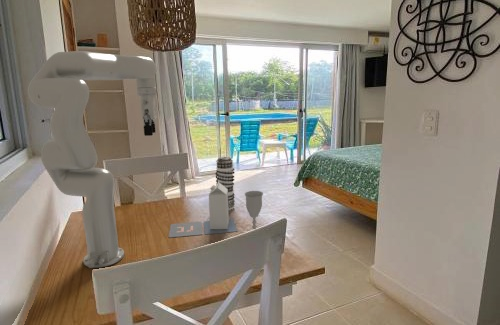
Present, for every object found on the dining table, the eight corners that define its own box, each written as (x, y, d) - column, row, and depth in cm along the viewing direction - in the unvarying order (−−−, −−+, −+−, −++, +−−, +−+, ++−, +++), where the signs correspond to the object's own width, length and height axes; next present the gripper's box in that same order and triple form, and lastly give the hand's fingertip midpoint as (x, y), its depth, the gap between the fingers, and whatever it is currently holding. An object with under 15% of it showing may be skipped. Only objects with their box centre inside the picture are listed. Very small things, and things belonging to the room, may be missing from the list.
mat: (237, 231, 125) (237, 231, 125) (205, 234, 123) (204, 234, 123) (233, 219, 138) (233, 218, 138) (203, 221, 135) (203, 221, 135)
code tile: (202, 234, 123) (202, 234, 123) (168, 237, 121) (168, 237, 120) (201, 222, 135) (201, 221, 135) (170, 224, 133) (170, 224, 133)
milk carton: (228, 222, 134) (227, 180, 130) (227, 229, 127) (226, 184, 123) (212, 222, 134) (210, 180, 130) (210, 229, 127) (208, 185, 123)
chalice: (257, 244, 114) (256, 197, 110) (241, 240, 118) (240, 195, 114) (266, 236, 120) (266, 192, 116) (251, 233, 124) (251, 189, 120)
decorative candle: (238, 209, 150) (236, 158, 145) (219, 212, 147) (217, 160, 141) (232, 203, 158) (230, 155, 153) (214, 205, 155) (212, 156, 150)
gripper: (153, 92, 120) (157, 136, 123) (158, 92, 136) (161, 131, 140) (133, 92, 118) (137, 137, 122) (140, 92, 135) (144, 132, 139)
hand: (150, 134), depth 131 cm, fingers open, 9 cm apart
